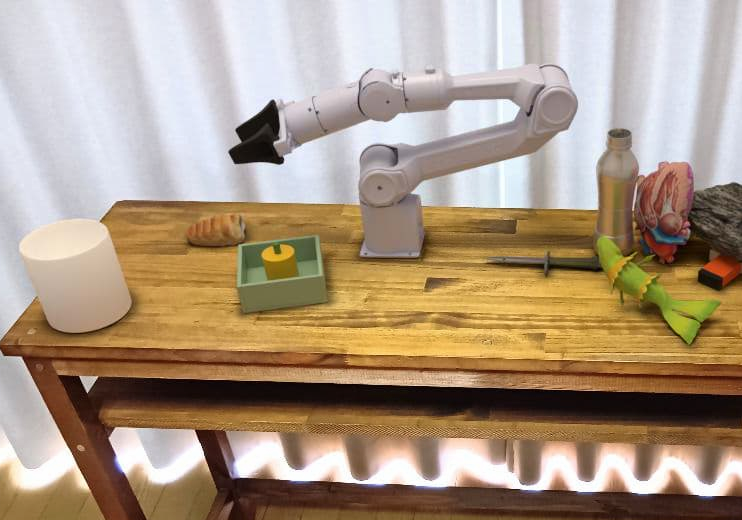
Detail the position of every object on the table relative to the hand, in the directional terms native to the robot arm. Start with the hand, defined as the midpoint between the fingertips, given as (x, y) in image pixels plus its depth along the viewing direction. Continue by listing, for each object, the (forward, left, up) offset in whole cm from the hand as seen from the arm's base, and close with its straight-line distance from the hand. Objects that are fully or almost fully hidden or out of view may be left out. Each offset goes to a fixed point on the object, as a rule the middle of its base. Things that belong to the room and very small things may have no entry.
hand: (235, 146), depth 132 cm
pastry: (+8, -5, -19) cm, 21 cm away
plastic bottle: (-56, -1, -19) cm, 59 cm away
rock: (-70, -6, -9) cm, 71 cm away
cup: (+21, +16, -19) cm, 32 cm away
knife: (-45, 0, -18) cm, 49 cm away
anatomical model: (-64, -5, -5) cm, 64 cm away
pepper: (-6, +9, -18) cm, 21 cm away
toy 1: (-62, +21, -12) cm, 66 cm away
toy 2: (-70, +8, -18) cm, 72 cm away
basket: (-6, +9, -18) cm, 21 cm away
